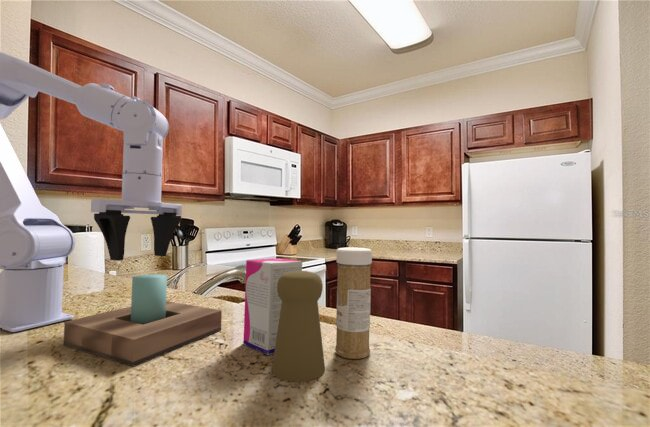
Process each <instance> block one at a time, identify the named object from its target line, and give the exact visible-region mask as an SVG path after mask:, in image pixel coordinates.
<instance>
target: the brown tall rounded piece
mask: <svg viewBox="0 0 650 427" xmlns="http://www.w3.org/2000/svg"><path fill="white" fill-rule="evenodd" d="M323 289H324V288H323V280H322V278H321V276H320V275H319V274H317V273H316V272H312V271H307V270H302V271H292V272H287V273H284V274H283V275H281V277H280V278H279V280H278V284H277V292H278V296H279V297H280V299H281V300H282V304H281V311H280V317H279V324H278V331H277V338H276V344H275V351H274V353H273V359H272V366H271V373H272V375H273V376H275V378H277V379H280V381H281V380H282V381H285V382H286V381H287V382H292V383H295V382H296V383H303V382H309V381H312V380H313V381H314V380H316V379H317V378H319V377H321V376H323V374H325V372H326V365H325V355H324V346H323V339H322V331H321V330H322V328H321V321H320V313H319V312H320V311H319V303H318V302H319V300H320V299H321V297H322V293H323Z"/></svg>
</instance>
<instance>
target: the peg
mask: <svg viewBox="0 0 650 427" xmlns="http://www.w3.org/2000/svg"><path fill="white" fill-rule="evenodd" d="M131 280H132V281H131V300H130V302H131V304H130V307H131V320H130V322H133V323H138V324H142V325H144V324H147V323H151V322H154V321H157V320H161V319H164V318H165V317H166V301H167V286H168V275H167V274H159V273H154V274H153V273H152V274H141V275H140V274H139V275H133V276H132V279H131Z"/></svg>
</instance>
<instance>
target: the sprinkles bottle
mask: <svg viewBox="0 0 650 427" xmlns="http://www.w3.org/2000/svg"><path fill="white" fill-rule="evenodd" d="M335 256H336V257H335V258H336V263H337V289H336V315H335V316H336V319H335V320H336V322H335V323H336V324H335V325H336V336H335V337H336V339H335V340H336V341H335V348H334V351H335V353H336V355H337V356H339V357H341V358H345V359H349V360H350V359H353V360H354V359H357V360H359V359H364V358H366V357H368V356H369V355H370V354H371V349H370V329H371V301H372V300H371V297H372V296H371V295H372V294H371V290H372V289H371V268H372V263H373V251H372V250H371V248H366V247H356V246H354V247H352V246H350V247H349V246H347V247H339V248H337V249H336V255H335Z"/></svg>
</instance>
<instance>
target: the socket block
mask: <svg viewBox="0 0 650 427" xmlns="http://www.w3.org/2000/svg"><path fill="white" fill-rule="evenodd" d="M222 311H223V310H221V309H216V308H210V307H204V306H198V305H191V304H185V303H179V302H173V301H169V300H166V317H165V318H164V319H161V320H157V321H154V322H151V323H147V324H144V325H142V324H138V323H133V322H130V320H131V306H128V307H122V308H118V309H114V310H111V311H105V312H102V313H97V314H93V315H90V316H84V317H80V318H76V319H70V320H66V321H64V324H63V325H64V326H63V327H64V329H63V346H65V347H69V348H73V349H75V350H79V351H81V352H85V353H88V354H91V355H94V356H98V357H102V358H105V359H108V360H111V361H114V362H117V363H122V364H124V365H127V366H131V367H134V366H137V365H140V364H142V363H145V362H147V361H149V360H152V359H154V358H157V357H159V356H162V355H164V354H167V353H169V352H171V351H174V350H177V349H178V348H181V347H184V346H186V345H188V344H191V343H193V342H196V341H198V340H201V339H203V338H206V337H208V336H210V335H213V334H215V333H217V332H221V330H222V317H223V316H222V313H223V312H222Z"/></svg>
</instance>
